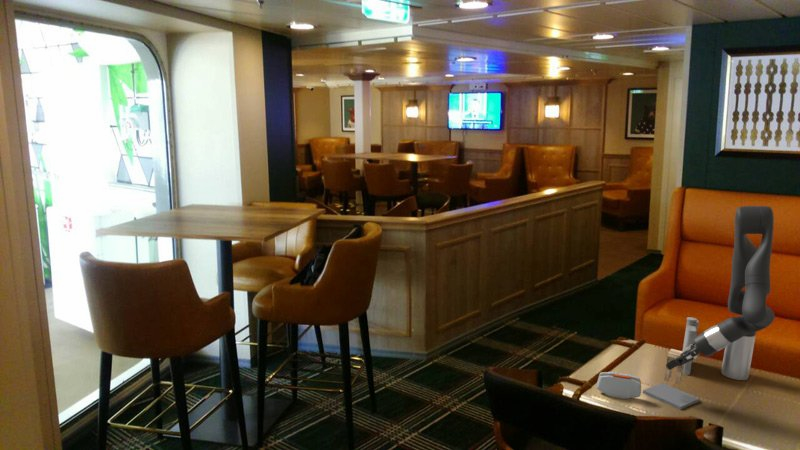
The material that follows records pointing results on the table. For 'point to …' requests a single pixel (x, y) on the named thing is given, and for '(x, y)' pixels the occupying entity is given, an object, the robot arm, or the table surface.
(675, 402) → the mat
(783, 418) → the table surface
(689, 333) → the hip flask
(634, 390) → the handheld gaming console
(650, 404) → the table surface
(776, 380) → the table surface
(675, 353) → the beech stool
